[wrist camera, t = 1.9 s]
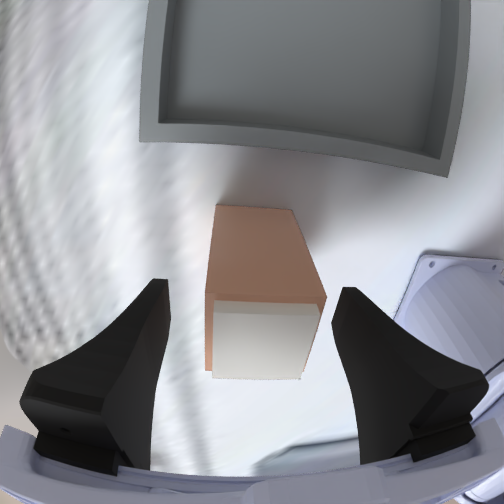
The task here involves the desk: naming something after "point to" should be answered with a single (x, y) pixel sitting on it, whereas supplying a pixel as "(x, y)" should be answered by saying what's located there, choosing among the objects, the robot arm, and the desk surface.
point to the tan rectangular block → (260, 295)
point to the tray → (309, 76)
